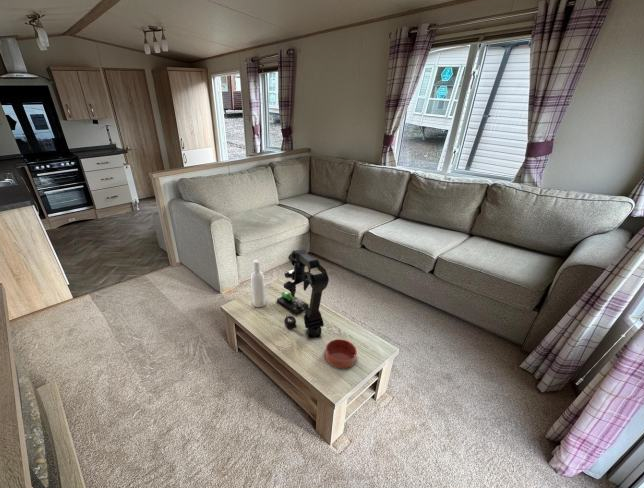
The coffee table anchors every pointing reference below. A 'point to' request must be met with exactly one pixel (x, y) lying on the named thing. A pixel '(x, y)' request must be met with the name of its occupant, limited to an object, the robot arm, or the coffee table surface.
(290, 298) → the cucumber
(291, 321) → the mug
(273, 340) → the coffee table surface
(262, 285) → the bottle
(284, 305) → the stove
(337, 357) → the red bowl
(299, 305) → the stove knob
